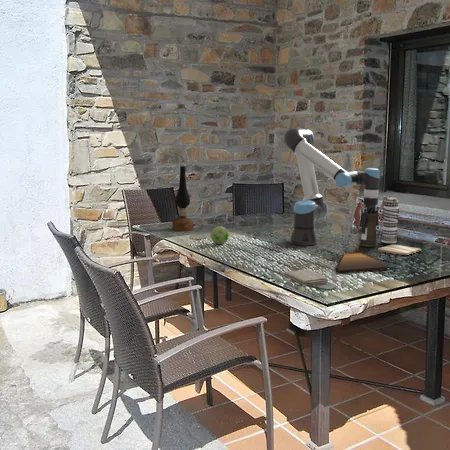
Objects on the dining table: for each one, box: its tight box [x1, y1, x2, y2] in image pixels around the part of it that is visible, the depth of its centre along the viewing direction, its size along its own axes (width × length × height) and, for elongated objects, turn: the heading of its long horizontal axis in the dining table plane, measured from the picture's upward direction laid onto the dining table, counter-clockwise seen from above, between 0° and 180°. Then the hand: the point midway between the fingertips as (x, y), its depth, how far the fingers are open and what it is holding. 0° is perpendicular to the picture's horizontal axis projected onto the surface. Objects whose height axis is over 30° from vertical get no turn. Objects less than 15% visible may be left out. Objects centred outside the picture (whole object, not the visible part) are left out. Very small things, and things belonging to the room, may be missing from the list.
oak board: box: [377, 243, 422, 256], centre depth 300 cm, size 16×16×2 cm
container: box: [359, 212, 379, 248], centre depth 311 cm, size 9×9×18 cm
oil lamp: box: [171, 165, 194, 232], centre depth 355 cm, size 14×15×40 cm
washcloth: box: [284, 268, 329, 287], centre depth 244 cm, size 12×18×3 cm, turn 25°
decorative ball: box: [210, 225, 230, 245], centre depth 313 cm, size 10×10×10 cm
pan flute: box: [334, 252, 389, 274], centre depth 269 cm, size 25×3×25 cm
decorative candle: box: [380, 197, 400, 244], centre depth 323 cm, size 9×9×25 cm
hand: (368, 238), depth 312 cm, fingers closed on container, 8 cm apart
